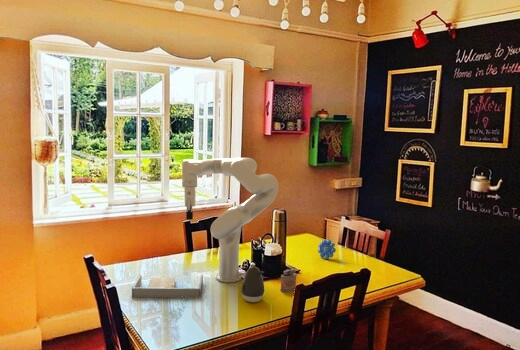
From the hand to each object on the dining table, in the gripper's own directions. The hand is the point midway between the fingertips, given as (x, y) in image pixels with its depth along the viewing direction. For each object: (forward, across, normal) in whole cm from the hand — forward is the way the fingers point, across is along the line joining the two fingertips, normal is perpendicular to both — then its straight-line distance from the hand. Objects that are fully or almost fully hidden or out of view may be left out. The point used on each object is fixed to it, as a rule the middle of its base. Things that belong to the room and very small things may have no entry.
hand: (189, 219), depth 223 cm
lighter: (+27, -28, -47) cm, 62 cm away
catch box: (+26, -27, +8) cm, 39 cm away
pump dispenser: (+27, -39, -30) cm, 56 cm away
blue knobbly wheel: (+27, +15, -77) cm, 83 cm away
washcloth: (+27, -25, +11) cm, 39 cm away
